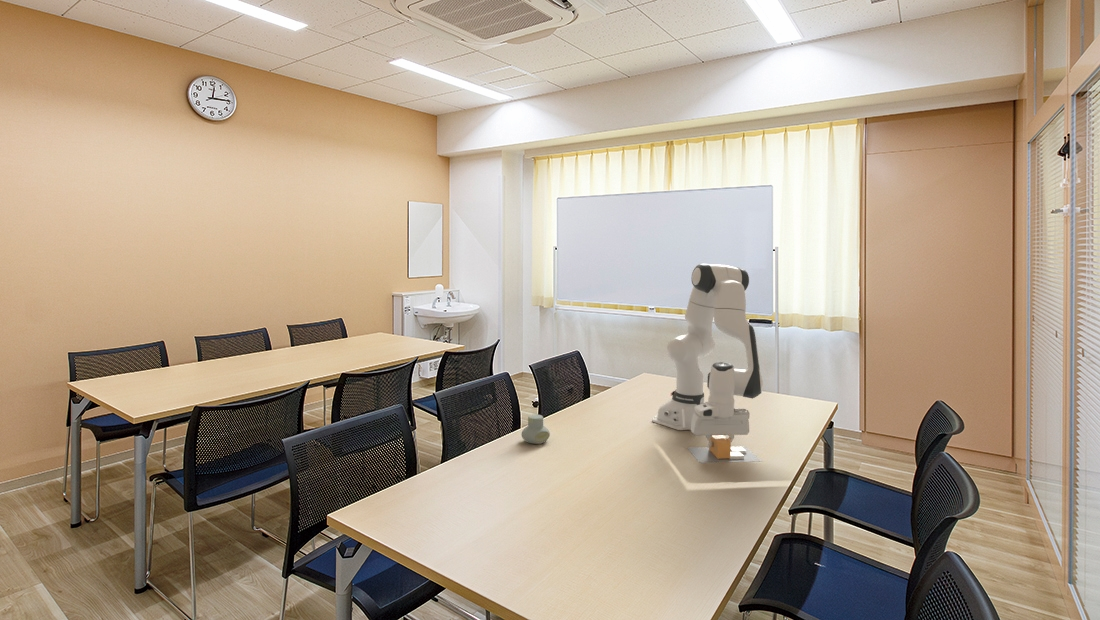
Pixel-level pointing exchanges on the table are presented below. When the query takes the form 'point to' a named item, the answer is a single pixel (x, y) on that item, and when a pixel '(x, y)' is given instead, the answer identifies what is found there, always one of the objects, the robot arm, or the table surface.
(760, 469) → the table surface
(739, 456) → the mark
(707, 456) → the board
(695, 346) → the robot arm
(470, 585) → the table surface
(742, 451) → the mark
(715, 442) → the block
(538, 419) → the air freshener
